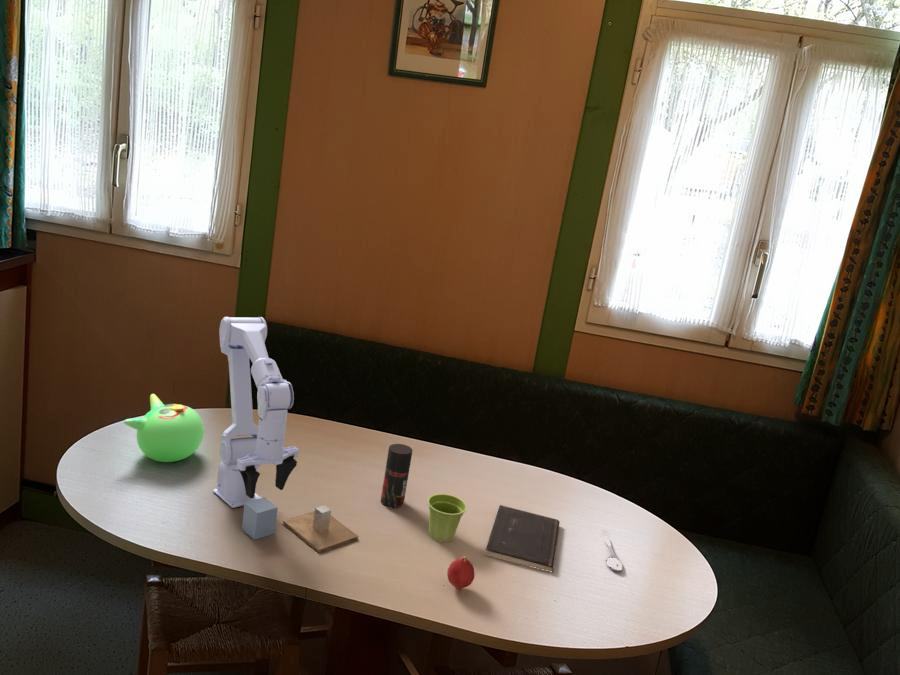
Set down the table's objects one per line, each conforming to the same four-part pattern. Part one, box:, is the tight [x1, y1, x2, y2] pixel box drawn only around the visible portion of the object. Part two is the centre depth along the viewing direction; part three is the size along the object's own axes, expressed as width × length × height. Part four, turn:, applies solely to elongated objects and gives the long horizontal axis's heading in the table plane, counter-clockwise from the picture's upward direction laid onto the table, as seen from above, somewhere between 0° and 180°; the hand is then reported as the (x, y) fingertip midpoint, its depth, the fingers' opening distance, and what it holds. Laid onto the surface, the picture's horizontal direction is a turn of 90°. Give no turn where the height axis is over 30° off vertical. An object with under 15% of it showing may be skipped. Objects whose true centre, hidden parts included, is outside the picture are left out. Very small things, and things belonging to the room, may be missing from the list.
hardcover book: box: [485, 504, 560, 573], centre depth 184 cm, size 16×23×2 cm
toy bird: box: [123, 393, 205, 463], centre depth 192 cm, size 18×17×15 cm
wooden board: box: [282, 504, 359, 554], centre depth 171 cm, size 14×11×6 cm
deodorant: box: [380, 443, 413, 509], centre depth 189 cm, size 6×6×15 cm
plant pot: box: [427, 493, 468, 543], centre depth 178 cm, size 9×9×9 cm
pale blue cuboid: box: [241, 496, 279, 541], centre depth 167 cm, size 5×5×7 cm
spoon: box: [607, 546, 623, 572], centre depth 186 cm, size 4×21×2 cm, turn 177°
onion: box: [446, 556, 476, 591], centre depth 159 cm, size 6×6×8 cm
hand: (264, 492), depth 165 cm, fingers open, 7 cm apart
